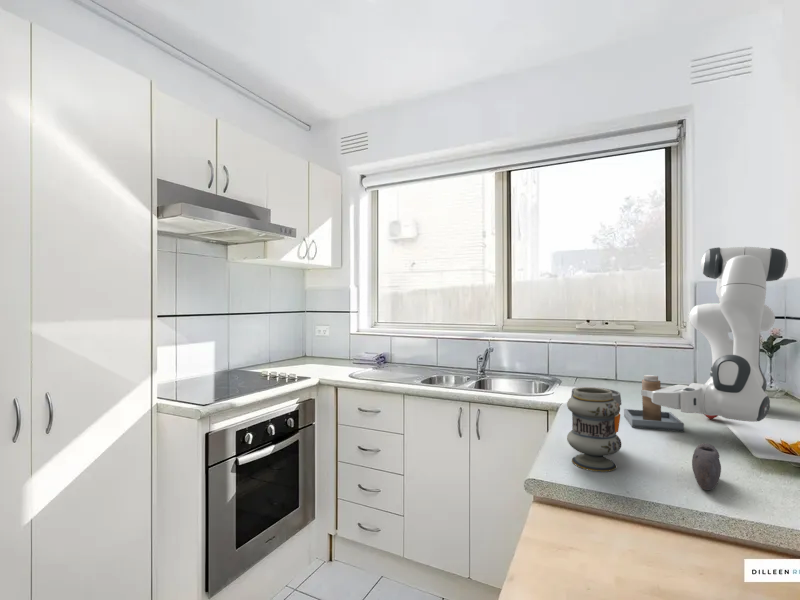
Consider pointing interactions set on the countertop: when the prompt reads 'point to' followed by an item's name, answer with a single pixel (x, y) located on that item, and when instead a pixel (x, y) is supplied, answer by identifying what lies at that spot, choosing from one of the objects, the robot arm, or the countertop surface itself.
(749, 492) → the countertop surface
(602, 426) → the apothecary jar
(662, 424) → the tray
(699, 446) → the perforated stone tool
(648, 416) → the pepper mill
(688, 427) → the countertop surface
